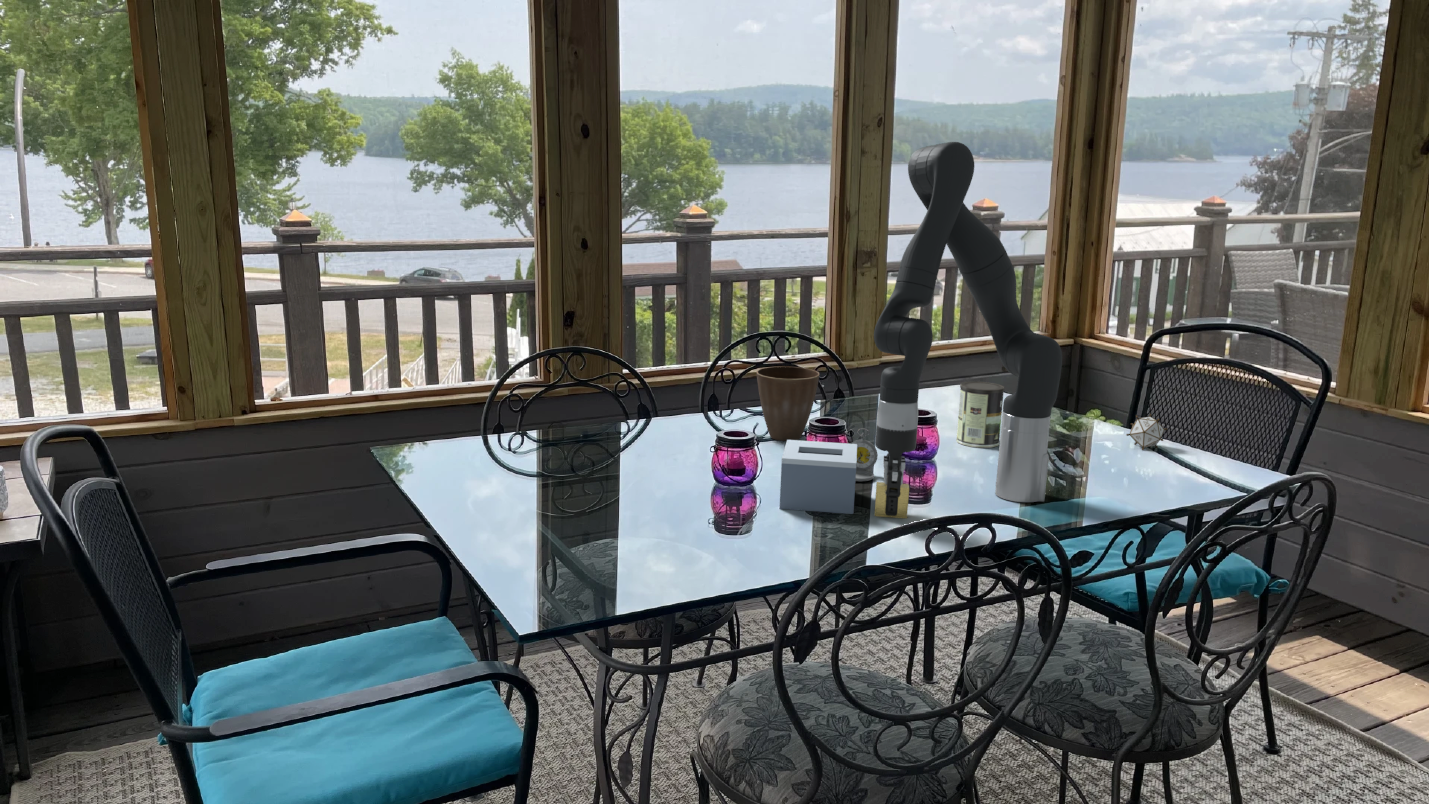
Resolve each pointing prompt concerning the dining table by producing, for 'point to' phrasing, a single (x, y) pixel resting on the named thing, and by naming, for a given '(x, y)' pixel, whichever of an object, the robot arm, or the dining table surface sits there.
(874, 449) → the pocket watch
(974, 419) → the coffee can
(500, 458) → the dining table surface
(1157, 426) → the game die
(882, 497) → the plate
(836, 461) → the coin box
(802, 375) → the plant pot
